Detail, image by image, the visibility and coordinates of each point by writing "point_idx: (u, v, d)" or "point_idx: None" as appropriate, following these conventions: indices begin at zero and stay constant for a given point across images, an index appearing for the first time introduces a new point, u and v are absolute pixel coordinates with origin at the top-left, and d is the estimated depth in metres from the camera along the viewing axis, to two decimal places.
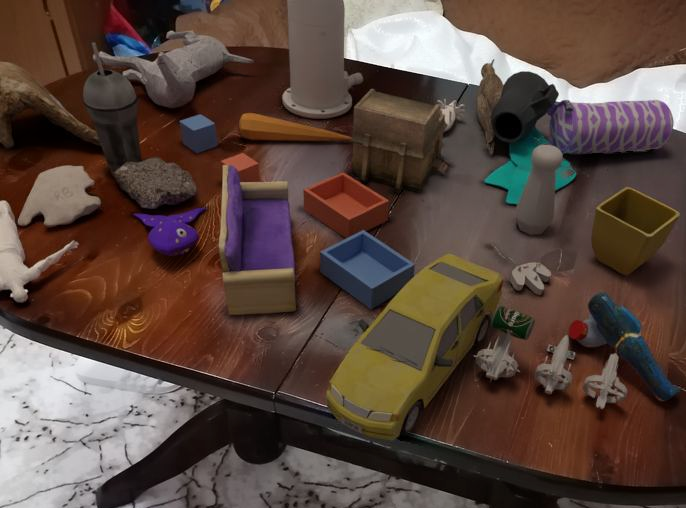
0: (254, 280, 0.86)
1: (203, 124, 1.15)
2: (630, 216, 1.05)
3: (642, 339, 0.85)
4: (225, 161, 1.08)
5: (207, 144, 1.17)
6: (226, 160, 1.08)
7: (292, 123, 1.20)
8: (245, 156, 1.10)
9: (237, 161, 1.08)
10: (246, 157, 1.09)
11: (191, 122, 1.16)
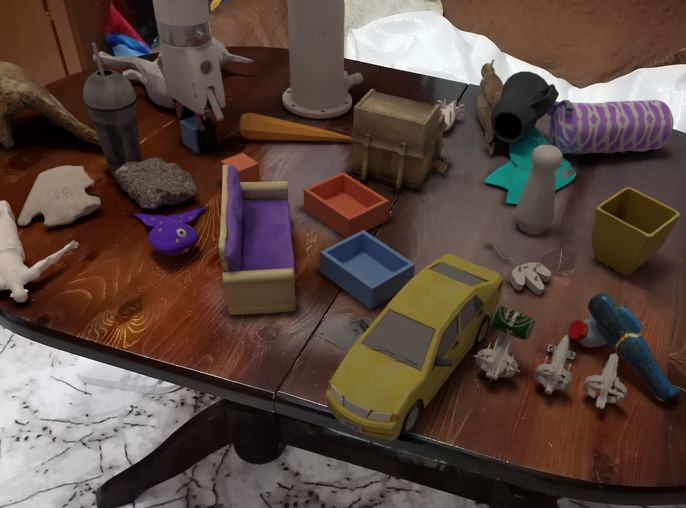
0: (254, 280, 0.86)
1: None
2: (630, 216, 1.05)
3: (642, 339, 0.85)
4: (225, 161, 1.08)
5: None
6: (226, 160, 1.08)
7: (292, 123, 1.20)
8: (245, 156, 1.10)
9: (237, 161, 1.08)
10: (246, 157, 1.09)
11: (191, 122, 1.16)
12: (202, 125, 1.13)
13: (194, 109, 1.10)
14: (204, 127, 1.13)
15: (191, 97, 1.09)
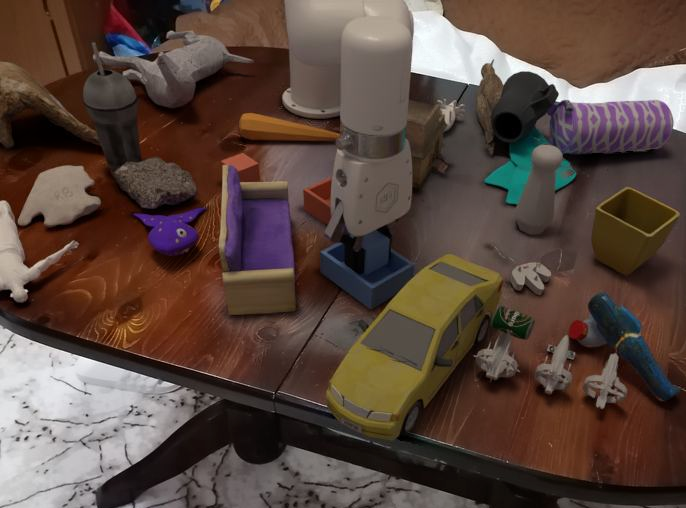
0: (254, 280, 0.86)
1: None
2: (630, 216, 1.05)
3: (642, 339, 0.85)
4: (225, 161, 1.08)
5: None
6: (226, 160, 1.08)
7: (292, 123, 1.20)
8: (245, 156, 1.10)
9: (237, 161, 1.08)
10: (246, 157, 1.09)
11: None
12: None
13: None
14: None
15: None
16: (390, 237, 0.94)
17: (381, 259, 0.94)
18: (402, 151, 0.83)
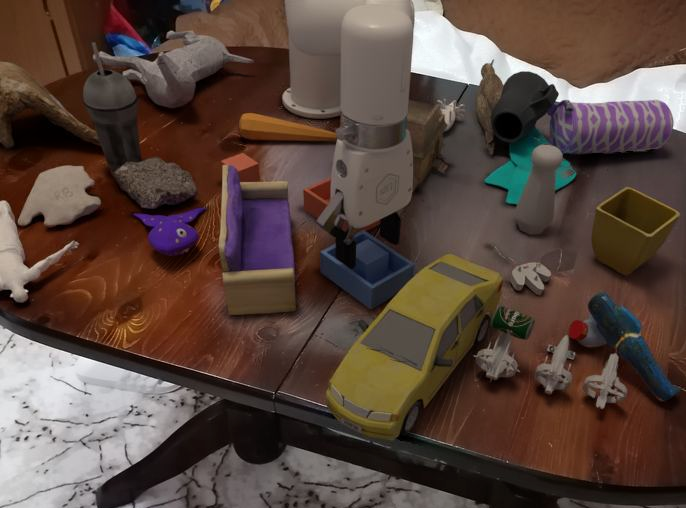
0: (254, 280, 0.86)
1: (362, 255, 0.94)
2: (630, 216, 1.05)
3: (642, 339, 0.85)
4: (225, 161, 1.08)
5: None
6: (226, 160, 1.08)
7: (292, 123, 1.20)
8: (245, 156, 1.10)
9: (237, 161, 1.08)
10: (246, 157, 1.09)
11: (365, 247, 0.95)
12: None
13: None
14: None
15: None
16: (399, 221, 0.93)
17: (380, 272, 0.96)
18: (403, 141, 0.82)
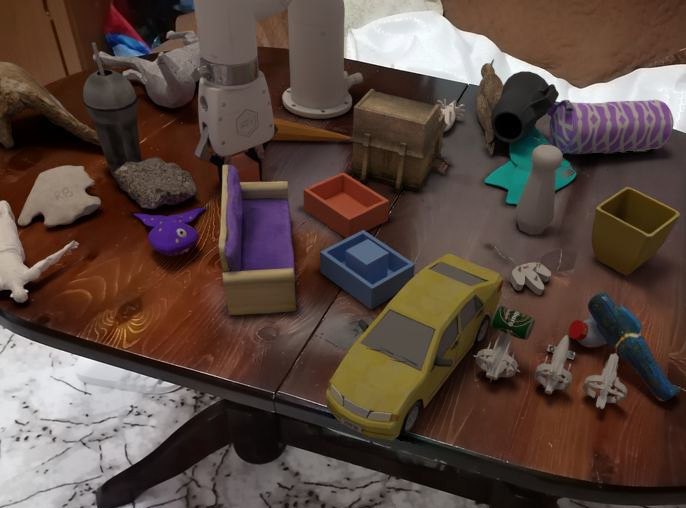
0: (254, 280, 0.86)
1: (362, 255, 0.94)
2: (630, 216, 1.05)
3: (642, 339, 0.85)
4: None
5: None
6: None
7: (292, 123, 1.20)
8: (245, 156, 1.10)
9: (237, 162, 1.08)
10: (246, 157, 1.09)
11: (365, 247, 0.95)
12: None
13: None
14: None
15: None
16: (259, 161, 1.09)
17: (380, 272, 0.96)
18: (255, 81, 0.98)
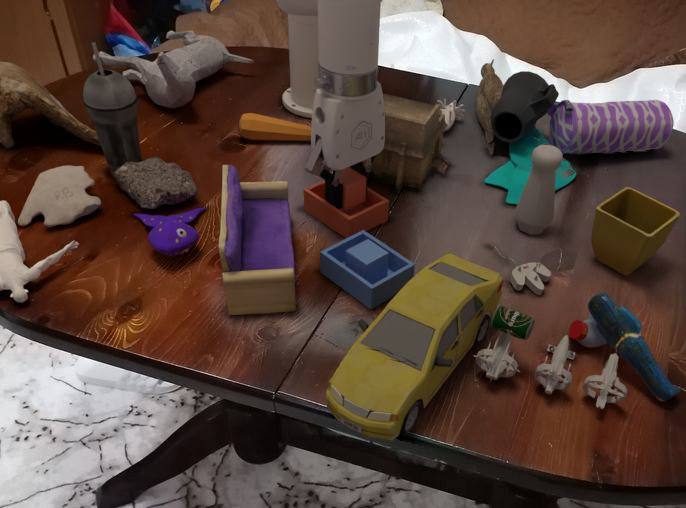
0: (254, 280, 0.86)
1: (362, 255, 0.94)
2: (630, 216, 1.05)
3: (642, 339, 0.85)
4: None
5: None
6: None
7: (292, 123, 1.20)
8: (351, 170, 1.04)
9: (343, 176, 1.03)
10: (352, 171, 1.04)
11: (365, 247, 0.95)
12: None
13: None
14: None
15: None
16: (366, 175, 1.04)
17: (380, 272, 0.96)
18: (374, 91, 0.93)
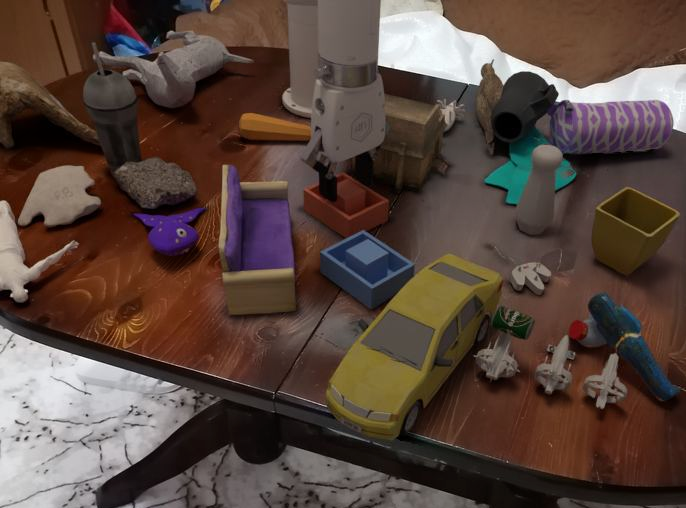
0: (254, 280, 0.86)
1: (362, 255, 0.94)
2: (630, 216, 1.05)
3: (642, 339, 0.85)
4: None
5: None
6: None
7: (292, 123, 1.20)
8: (351, 183, 1.06)
9: (343, 189, 1.05)
10: (352, 184, 1.06)
11: (365, 247, 0.95)
12: None
13: None
14: None
15: None
16: (372, 163, 1.03)
17: (380, 272, 0.96)
18: (374, 82, 0.92)
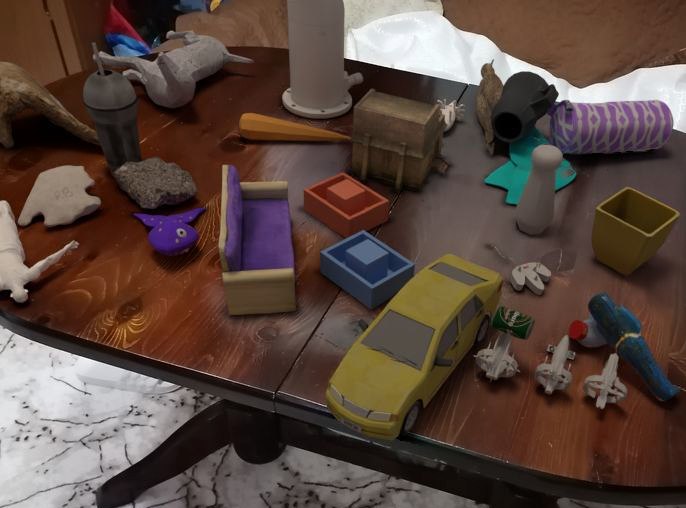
0: (254, 280, 0.86)
1: (362, 255, 0.94)
2: (630, 216, 1.05)
3: (642, 339, 0.85)
4: (331, 188, 1.04)
5: None
6: (332, 187, 1.05)
7: (292, 123, 1.20)
8: (351, 183, 1.06)
9: (343, 189, 1.05)
10: (352, 184, 1.06)
11: (365, 247, 0.95)
12: None
13: None
14: None
15: None
16: None
17: (380, 272, 0.96)
18: None
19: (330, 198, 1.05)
